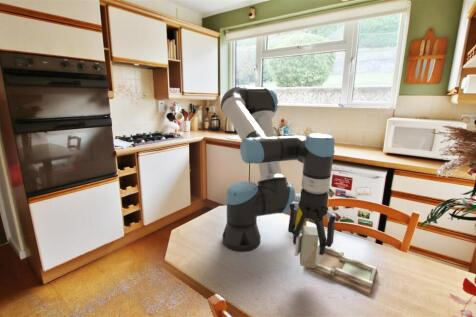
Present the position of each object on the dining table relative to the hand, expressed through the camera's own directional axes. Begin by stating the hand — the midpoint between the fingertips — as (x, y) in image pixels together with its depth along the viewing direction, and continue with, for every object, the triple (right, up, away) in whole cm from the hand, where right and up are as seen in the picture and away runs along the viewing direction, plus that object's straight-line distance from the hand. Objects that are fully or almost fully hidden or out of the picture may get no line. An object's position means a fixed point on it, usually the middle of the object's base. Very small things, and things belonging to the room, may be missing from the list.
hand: (307, 257), depth 77 cm
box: (0, -2, +1) cm, 2 cm away
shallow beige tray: (+13, -6, +6) cm, 15 cm away
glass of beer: (+5, +1, +32) cm, 33 cm away
